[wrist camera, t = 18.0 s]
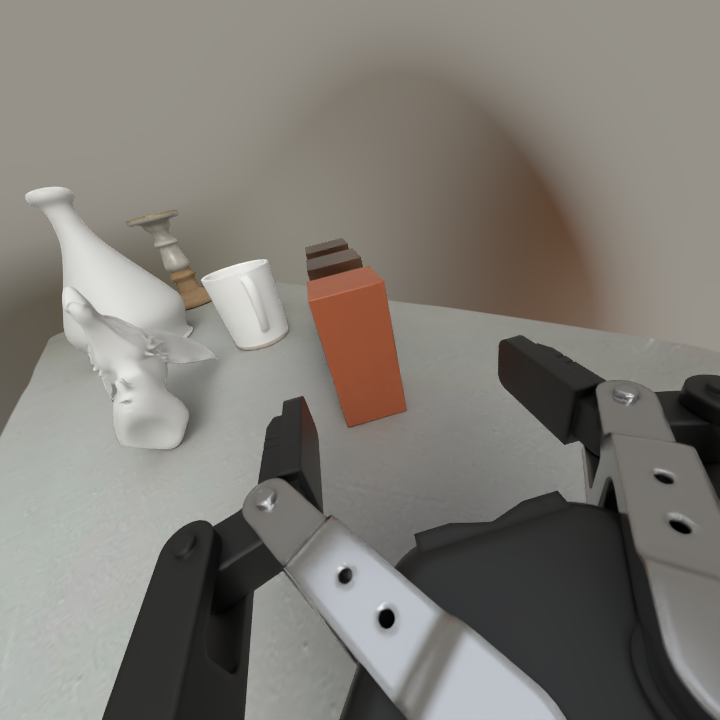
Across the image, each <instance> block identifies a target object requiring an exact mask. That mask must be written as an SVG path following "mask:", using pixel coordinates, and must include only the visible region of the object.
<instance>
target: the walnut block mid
mask: <svg viewBox="0 0 720 720" xmlns="http://www.w3.org/2000/svg"><path fill="white" fill-rule="evenodd" d="M306 262H307V272H308V276H309V279H310V281H312V280H316V279H320V278H324V277H327V276H331V275H335V274H339V273H343V272H346V271H350V270H354V269H358V268H362V267H363V266H362V261H361V257H360V256H359V255H358V254H357V253H356V252H355V251H354V250H353V249H348V250H344V251H340V252H336V253H332V254H328V255H325V256H321V257H317V258H313V259H309V260H307V261H306Z"/></svg>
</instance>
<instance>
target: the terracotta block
mask: <svg viewBox="0 0 720 720" xmlns="http://www.w3.org/2000/svg"><path fill="white" fill-rule="evenodd" d="M307 288H308V302H309V305H310V309H311V312H312V315H313V318H314V321H315V324H316V327H317V331H318V334H319V337H320V340H321V343H322V346H323V350H324V353H325V356H326V359H327V362H328V365H329V368H330V372H331V375H332V378H333V381H334V384H335V387H336V390H337V394H338V397H339V400H340V403H341V406H342V409H343V413H344V416H345V419H346V422H347V425H348V427H351V426H355V425H358V424H362V423H365V422H369V421H372V420H376V419H379V418H383V417H386V416H390V415H393V414H397V413H400V412H404V411H406V404H405V398H404V392H403V387H402V381H401V375H400V370H399V364H398V358H397V352H396V347H395V341H394V335H393V330H392V324H391V318H390V312H389V307H388V301H387V295H386V289H385V284H384V281H383V280H382V279H381V278H380V277H379V276H378V275H377V274H376V273H375V272H374V271H373V270H372V269H371V268H370V267H369V266H365V267H362V268H358V269H354V270H350V271H346V272H343V273H339V274H335V275H331V276H327V277H324V278H320V279H316V280H312V281H309V282H307Z"/></svg>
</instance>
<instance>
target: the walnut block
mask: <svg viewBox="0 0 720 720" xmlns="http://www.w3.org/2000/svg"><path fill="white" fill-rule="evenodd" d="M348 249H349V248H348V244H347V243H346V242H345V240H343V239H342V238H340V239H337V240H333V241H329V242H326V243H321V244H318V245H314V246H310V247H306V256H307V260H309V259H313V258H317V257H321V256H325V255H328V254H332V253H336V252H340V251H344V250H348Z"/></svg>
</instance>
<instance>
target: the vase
mask: <svg viewBox="0 0 720 720" xmlns="http://www.w3.org/2000/svg"><path fill="white" fill-rule="evenodd" d="M25 199H26V201H27V202H28V203H29V204H30V205H32V206H34V207H37V208H39V209H41V210H42V211H43V212H44V213H45V214H46V216H47V217H48V219H49V220H50V222H51V224H52V225H53V227H54V229H55V231H56V234H57V236H58V238H59V241H60V245H61V250H62V260H63V290H64V288H65V287H67V286H70V287H73V288H75V289H76V290H78V291H79V292H80V293H81V294H82V295H83V296H84V297H85V298H86V299H87V300H88V301H89V302H90V303H91V304H92V306H93V307H94V308H95V309H96V311H97V312H98V313H100V314H101V315H109V316H114V317H117V318H119V319H122V320H124V321H126V322H128V323H130V324H132V325H133V326H135V327H137V328H144V329H153V330H160V331H166V332H172V333H175V334H178V335H181V336H184V337H188V336H189V335H190V334H191V332H192V331H193V327H192V326H189V325H188V324H187V322H186V319H185V303H184V300H183V298H182V297H181V296H180V295H179V294H178V293H177V292H176V291H175V290H173V289H172V288H171V287H169V286H168V285H167V284H165V283H164V282H162V281H161V280H159V279H158V278H156V277H155V276H153V275H151V274H150V273H149V272H147V271H146V270H144V269H143V268H141V267H139V266H138V265H136V264H135V263H133V262H132V261H130V260H129V259H127V258H126V257H124V256H123V255H122V254H120V253H119V252H117V251H116V250H114V249H113V248H112V247H110V246H109V245H107V244H106V243H105V242H103V241H102V240H101V239H100V238H99V237H97V236H96V235H95V234H94V233H93V232H92V231H91V230H90V229H89V228H88V227H87V226H86V224H85V223H84V222H83V221H82V219H81V218H80V217H79V215H78V214H77V213H76V211H75V209H74V208H73V205H72V203H73V200H74V194H73V193H72V191H71V190H69V189H67V188H64V187H47V188H41V189H37V190H34V191H31V192H29V193H27V194H26V195H25ZM63 322H64V332H65V335H66V338H67V340H68V341H69V342H70V343H71V344H72V345H73V346H74V347H76V348H78V349H80V350H82V351H84V352H86V353H88V339H87V336H86V334H85V332H84V330H83V328H82V327H81V325H80V324H78V323H77V322H76V321H75V320H74V319H73V318H72V316H71V315H70V314H68V313H67V312H65V310H64V308H63Z"/></svg>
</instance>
